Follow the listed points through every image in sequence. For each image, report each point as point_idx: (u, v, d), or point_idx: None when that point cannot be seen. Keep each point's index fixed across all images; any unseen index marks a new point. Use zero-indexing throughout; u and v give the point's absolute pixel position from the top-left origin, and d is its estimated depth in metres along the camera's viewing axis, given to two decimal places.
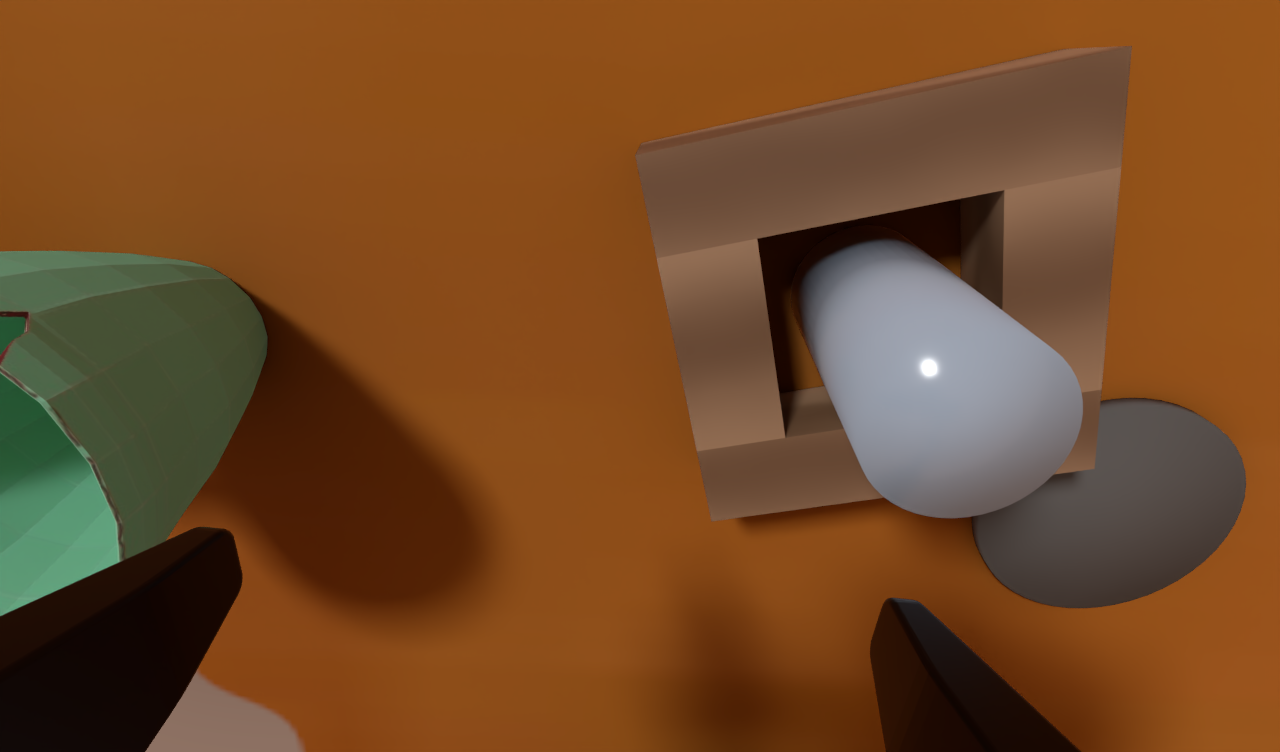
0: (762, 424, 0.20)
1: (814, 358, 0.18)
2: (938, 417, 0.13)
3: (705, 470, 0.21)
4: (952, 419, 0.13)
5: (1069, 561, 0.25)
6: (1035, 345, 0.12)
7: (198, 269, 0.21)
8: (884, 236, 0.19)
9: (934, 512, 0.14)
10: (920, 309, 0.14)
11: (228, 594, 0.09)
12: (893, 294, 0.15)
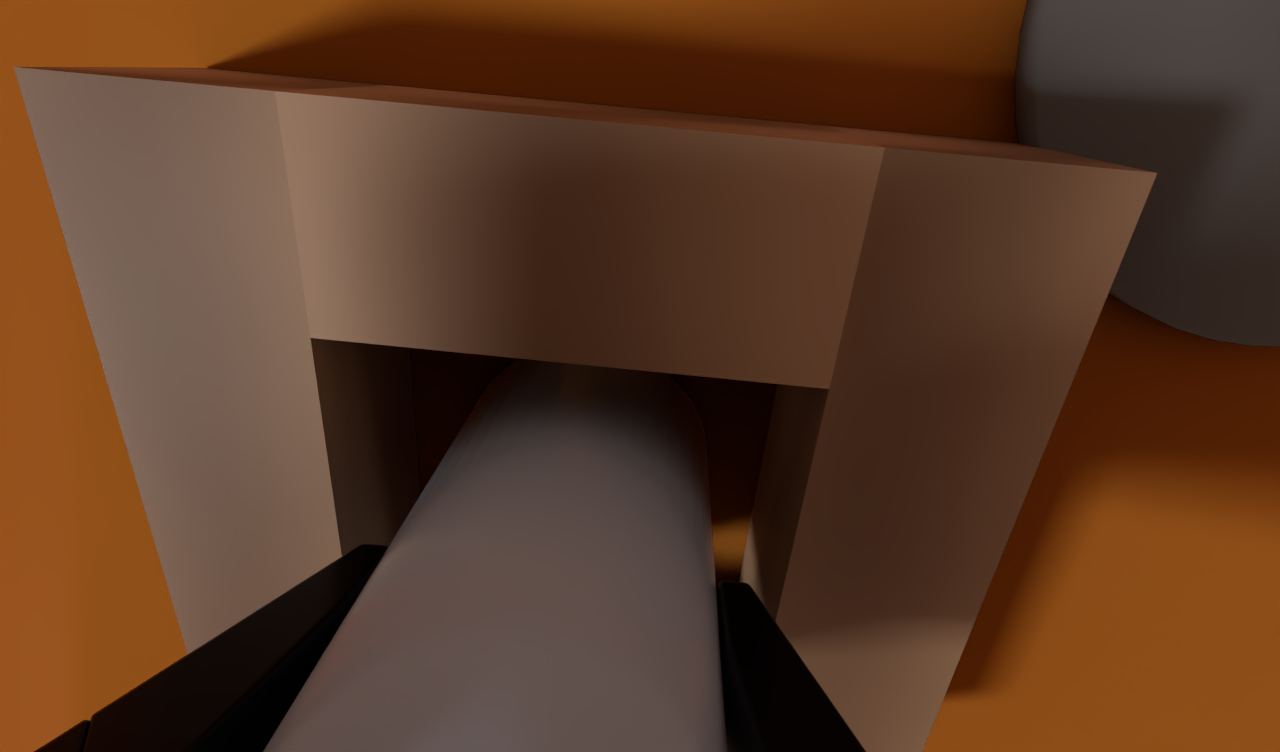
0: None
1: None
2: None
3: None
4: None
5: None
6: None
7: None
8: None
9: None
10: None
11: None
12: None
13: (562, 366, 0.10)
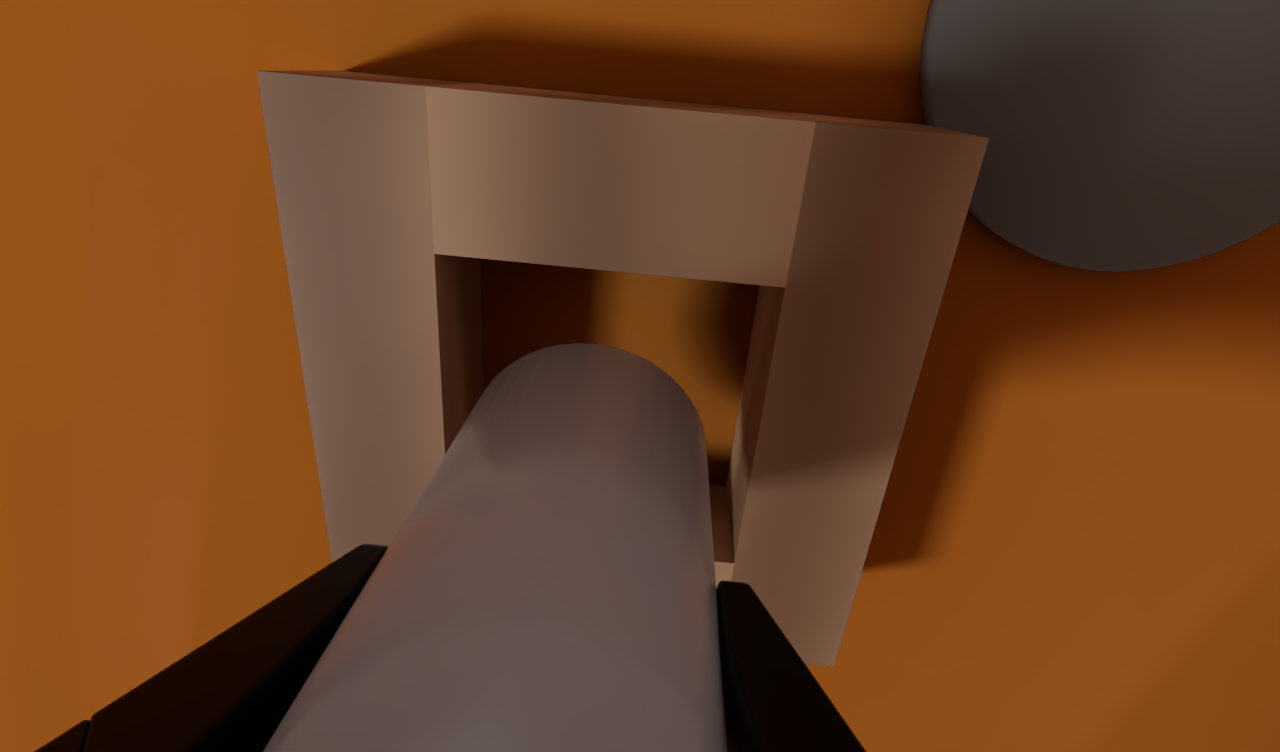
0: None
1: None
2: None
3: None
4: None
5: (1267, 110, 0.12)
6: None
7: None
8: None
9: None
10: None
11: None
12: None
13: (562, 365, 0.10)
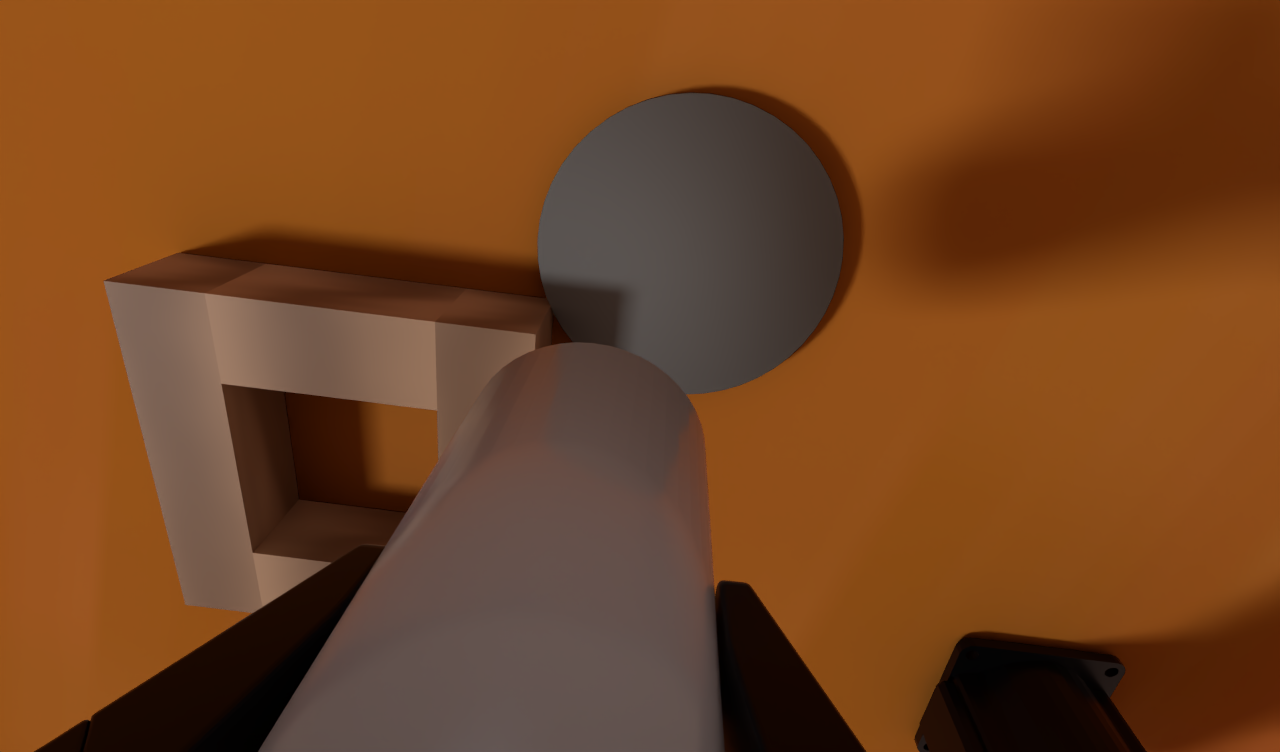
0: None
1: None
2: None
3: None
4: None
5: (747, 304, 0.20)
6: None
7: None
8: None
9: None
10: None
11: None
12: None
13: (560, 364, 0.10)
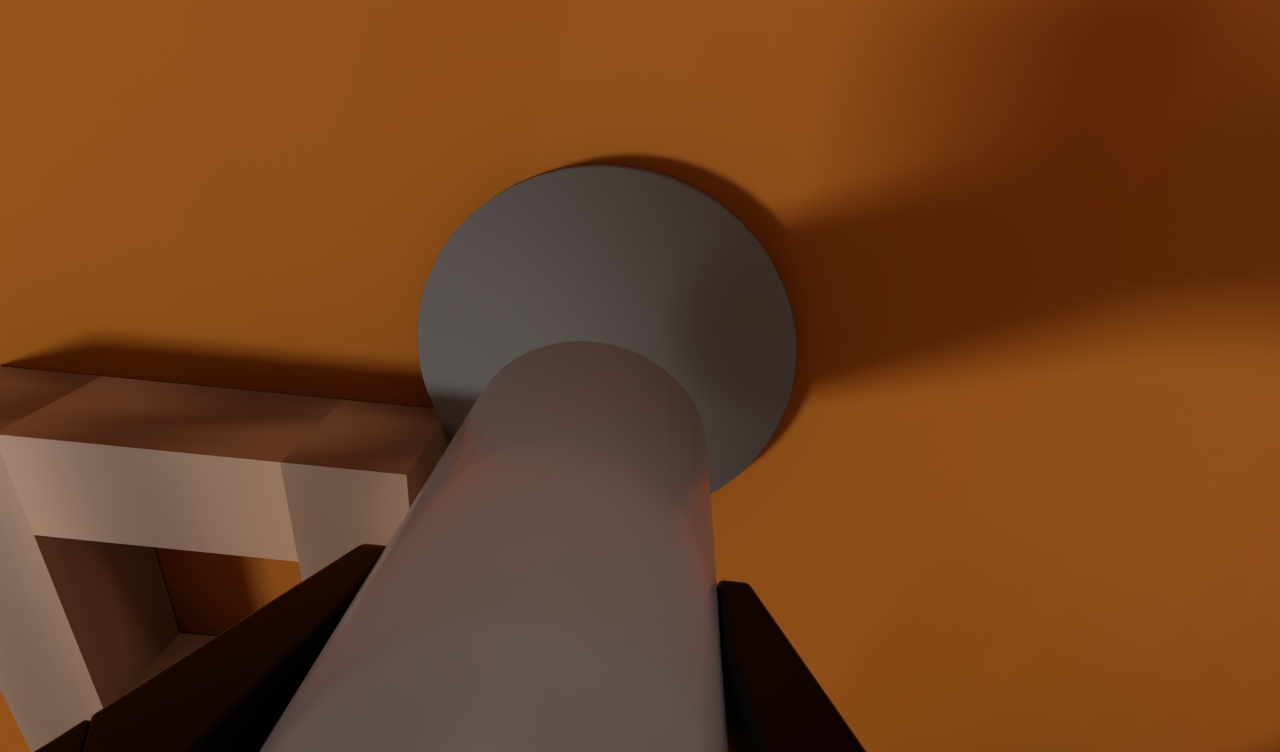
0: None
1: None
2: None
3: None
4: None
5: None
6: None
7: None
8: None
9: None
10: None
11: None
12: None
13: (562, 363, 0.10)
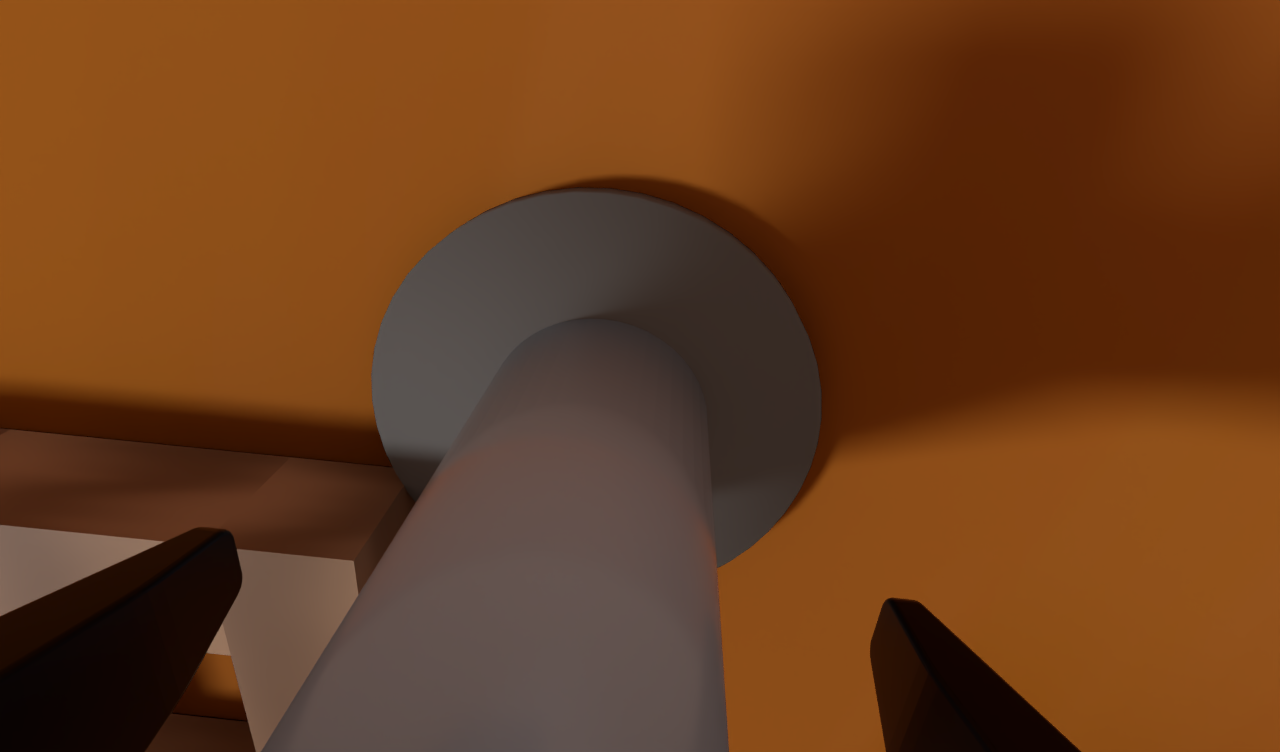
0: None
1: None
2: None
3: None
4: None
5: None
6: None
7: None
8: None
9: None
10: None
11: (228, 594, 0.09)
12: None
13: (575, 337, 0.11)
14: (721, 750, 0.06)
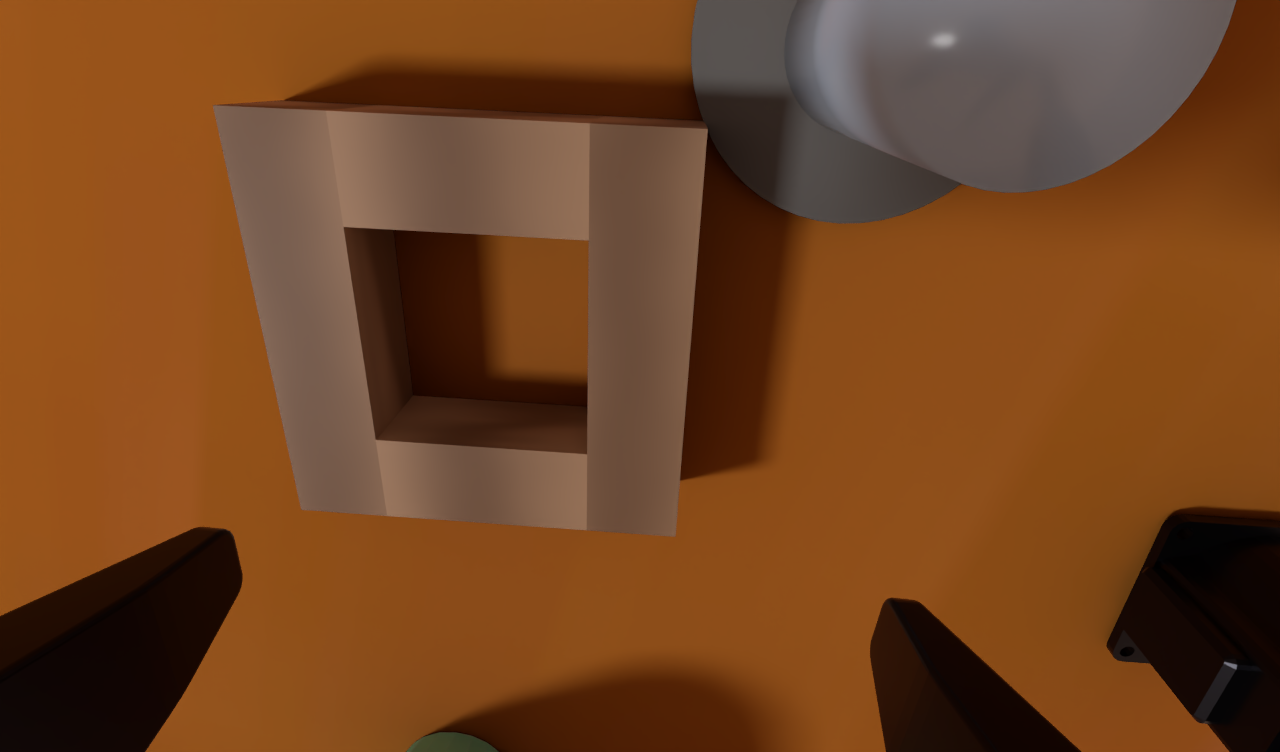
0: (567, 471, 0.20)
1: None
2: (1006, 64, 0.09)
3: (610, 528, 0.20)
4: (1019, 41, 0.09)
5: None
6: None
7: None
8: (799, 11, 0.15)
9: (1186, 84, 0.09)
10: (850, 44, 0.10)
11: (228, 594, 0.09)
12: (833, 61, 0.11)
13: None
14: None
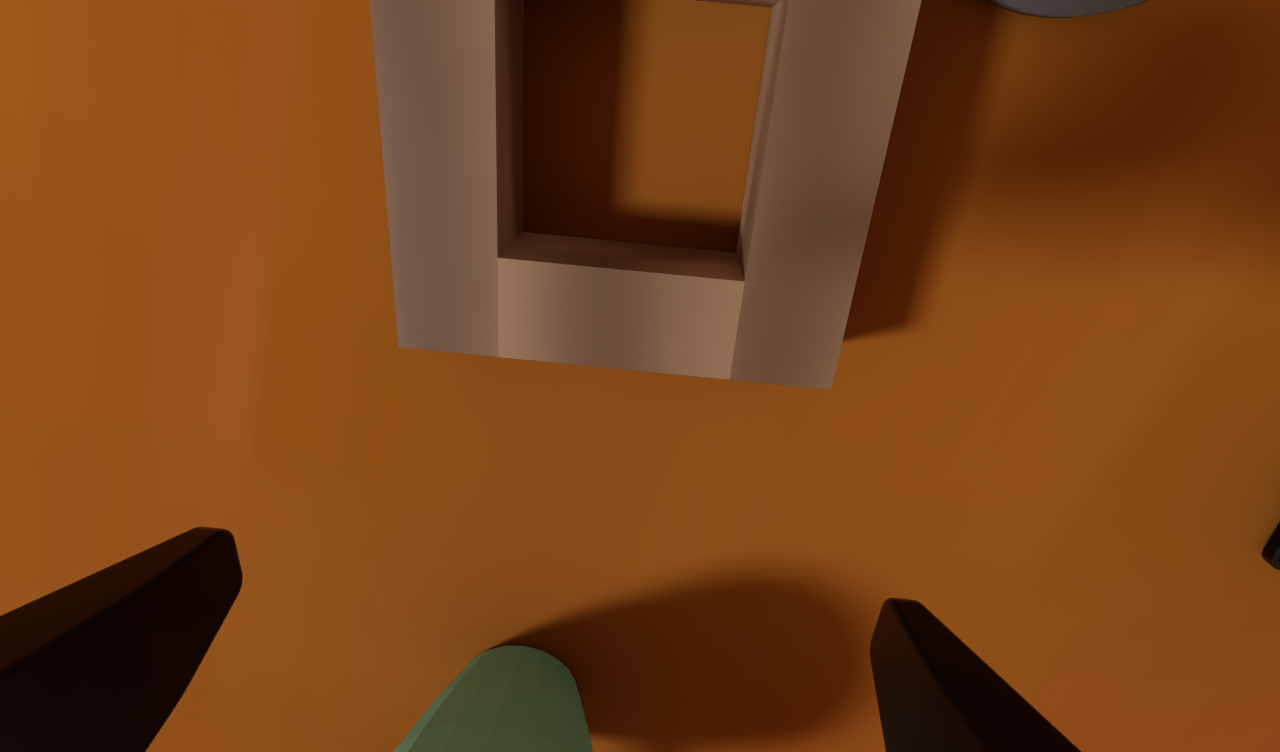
0: (718, 302, 0.17)
1: None
2: None
3: (757, 377, 0.18)
4: None
5: None
6: None
7: (463, 670, 0.26)
8: None
9: None
10: None
11: (228, 594, 0.09)
12: None
13: None
14: None
